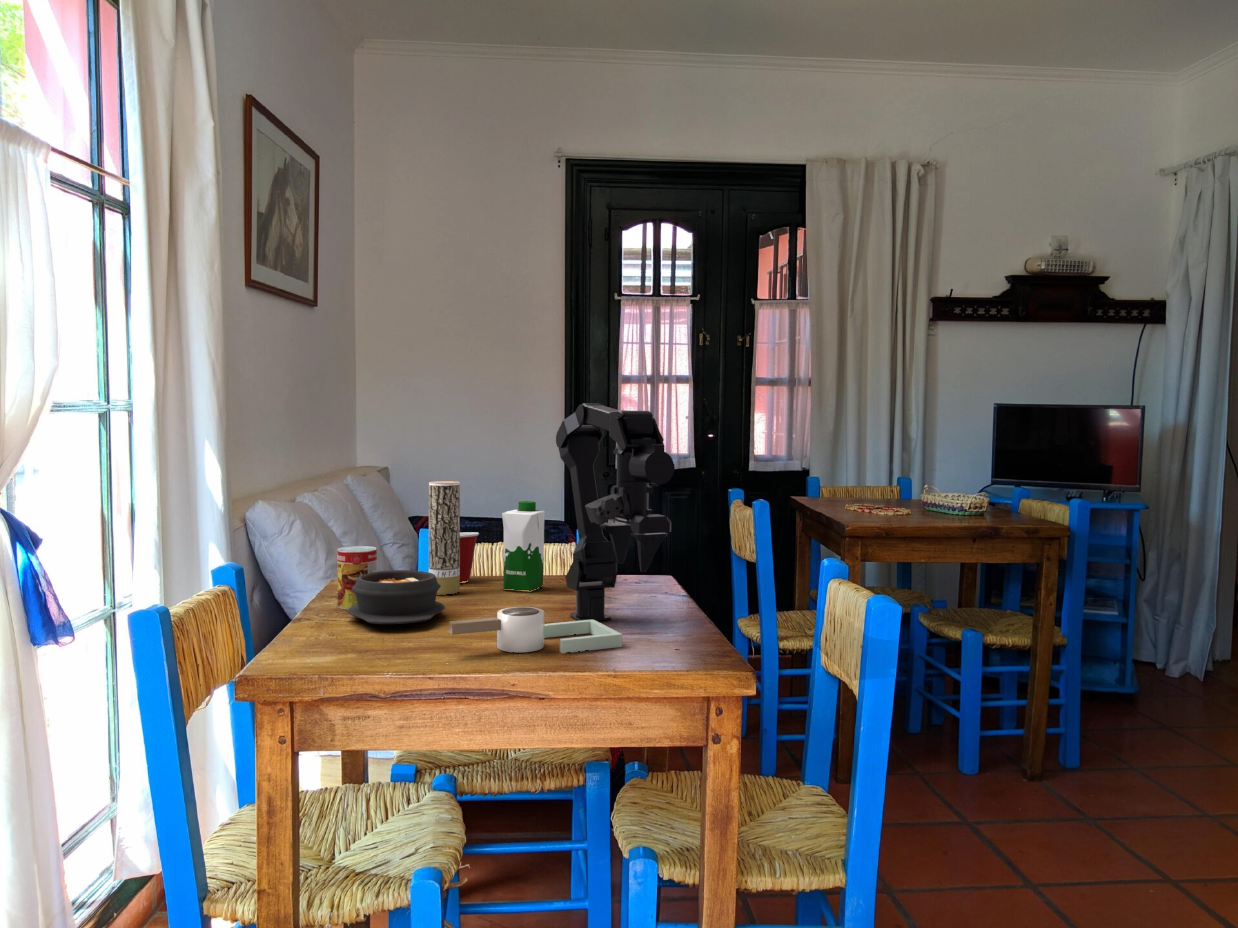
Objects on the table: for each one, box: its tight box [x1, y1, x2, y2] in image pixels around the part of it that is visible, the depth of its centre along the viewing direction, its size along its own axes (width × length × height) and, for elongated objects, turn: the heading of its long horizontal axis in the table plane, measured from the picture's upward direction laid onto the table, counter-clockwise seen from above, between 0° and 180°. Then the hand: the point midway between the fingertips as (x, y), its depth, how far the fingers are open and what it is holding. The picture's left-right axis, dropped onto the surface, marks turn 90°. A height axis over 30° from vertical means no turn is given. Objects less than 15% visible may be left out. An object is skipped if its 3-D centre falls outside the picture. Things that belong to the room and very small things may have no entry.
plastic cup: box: [460, 531, 480, 582], centre depth 214 cm, size 11×11×12 cm
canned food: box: [336, 545, 378, 611], centre depth 186 cm, size 8×8×12 cm
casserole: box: [347, 569, 446, 625], centre depth 175 cm, size 25×19×8 cm
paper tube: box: [428, 480, 461, 596], centre depth 200 cm, size 7×7×25 cm
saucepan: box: [448, 606, 545, 654], centre depth 152 cm, size 16×8×6 cm, turn 115°
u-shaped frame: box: [544, 619, 623, 654], centre depth 158 cm, size 12×11×2 cm
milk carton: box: [501, 500, 546, 591], centre depth 206 cm, size 9×9×20 cm
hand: (631, 567), depth 160 cm, fingers open, 9 cm apart
